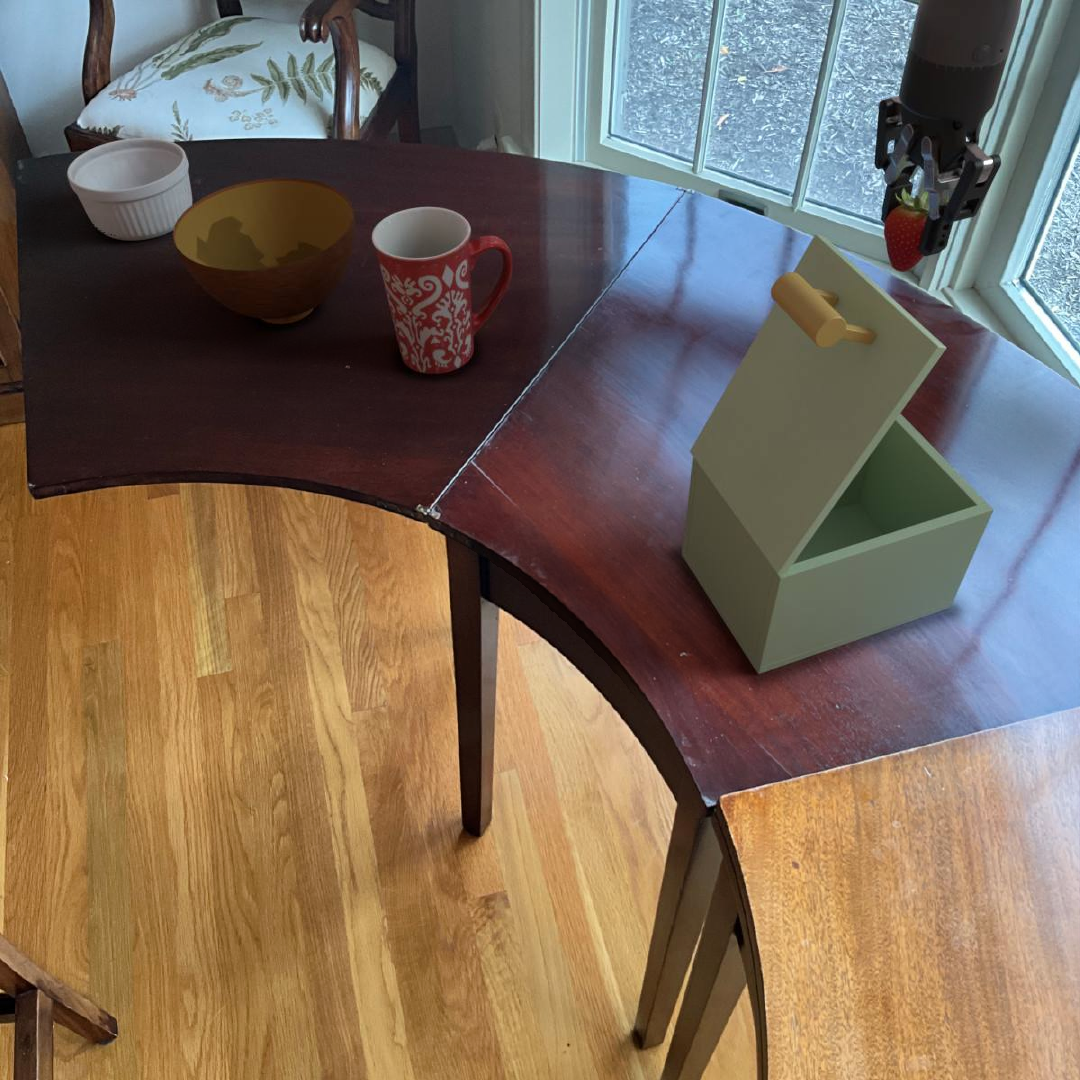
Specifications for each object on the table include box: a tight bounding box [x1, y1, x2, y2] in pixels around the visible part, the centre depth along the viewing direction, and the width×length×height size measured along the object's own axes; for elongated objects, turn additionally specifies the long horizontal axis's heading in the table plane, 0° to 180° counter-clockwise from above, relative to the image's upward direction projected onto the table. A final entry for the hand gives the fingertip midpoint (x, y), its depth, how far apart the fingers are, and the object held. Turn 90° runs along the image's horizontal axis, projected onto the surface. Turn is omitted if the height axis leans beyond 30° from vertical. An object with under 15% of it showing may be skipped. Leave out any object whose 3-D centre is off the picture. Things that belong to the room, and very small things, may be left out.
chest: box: [681, 413, 995, 675], centre depth 74 cm, size 17×13×11 cm
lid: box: [689, 233, 947, 574], centre depth 62 cm, size 17×13×5 cm
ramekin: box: [66, 137, 193, 242], centre depth 117 cm, size 13×13×7 cm
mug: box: [371, 206, 514, 375], centre depth 95 cm, size 13×9×14 cm
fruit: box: [883, 188, 948, 273], centre depth 91 cm, size 5×5×8 cm
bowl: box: [172, 177, 356, 325], centre depth 102 cm, size 18×18×10 cm
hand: (910, 236), depth 91 cm, fingers closed on fruit, 5 cm apart
